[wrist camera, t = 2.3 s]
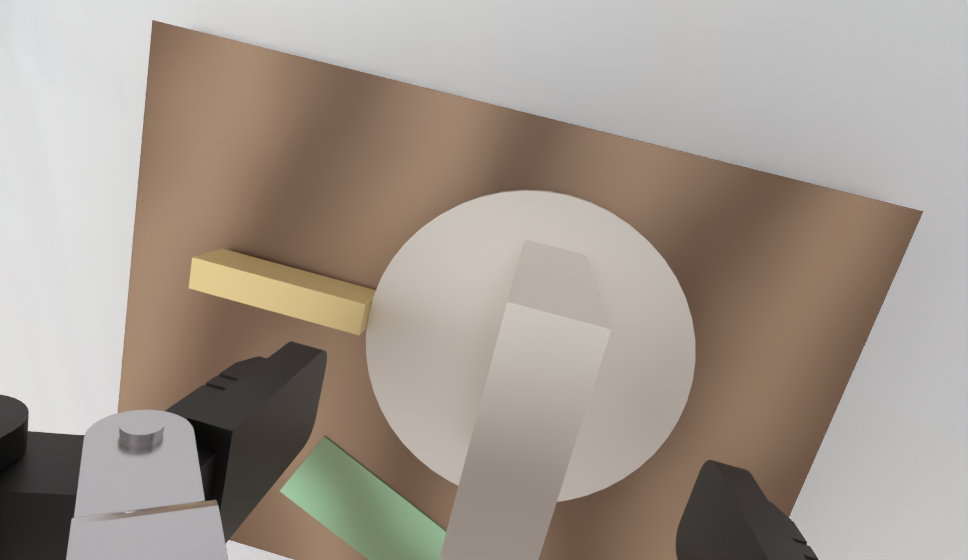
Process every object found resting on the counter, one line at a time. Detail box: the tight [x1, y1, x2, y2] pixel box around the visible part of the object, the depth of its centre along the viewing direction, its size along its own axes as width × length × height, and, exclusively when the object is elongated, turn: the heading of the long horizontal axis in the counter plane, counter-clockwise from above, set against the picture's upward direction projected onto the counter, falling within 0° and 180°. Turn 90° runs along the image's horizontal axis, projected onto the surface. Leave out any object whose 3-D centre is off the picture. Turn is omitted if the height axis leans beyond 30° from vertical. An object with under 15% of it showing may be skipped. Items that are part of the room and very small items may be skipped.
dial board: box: [118, 20, 923, 560], centre depth 20 cm, size 24×18×2 cm
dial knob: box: [189, 189, 695, 560], centre depth 14 cm, size 16×10×8 cm, turn 76°
